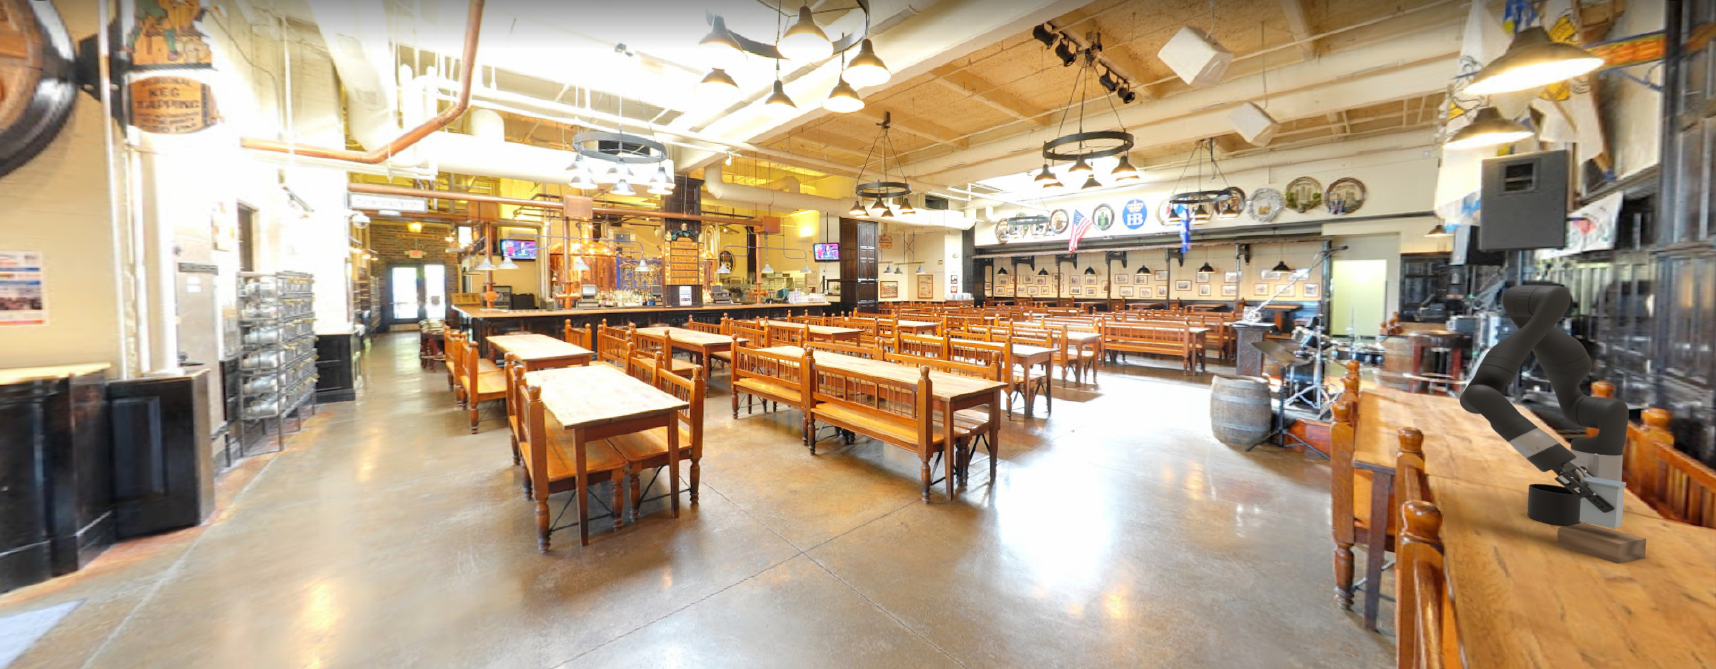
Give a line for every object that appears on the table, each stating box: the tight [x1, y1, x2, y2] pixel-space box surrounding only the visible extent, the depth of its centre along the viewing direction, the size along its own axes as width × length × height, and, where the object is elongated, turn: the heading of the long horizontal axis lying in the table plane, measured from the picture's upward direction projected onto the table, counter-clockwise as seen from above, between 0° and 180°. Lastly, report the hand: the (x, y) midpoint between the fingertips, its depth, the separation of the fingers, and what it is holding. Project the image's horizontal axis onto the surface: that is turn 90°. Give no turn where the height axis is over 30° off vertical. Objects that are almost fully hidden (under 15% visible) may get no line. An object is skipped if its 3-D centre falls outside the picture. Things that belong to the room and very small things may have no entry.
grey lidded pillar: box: [1580, 477, 1627, 530], centre depth 138 cm, size 6×6×11 cm
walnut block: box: [1556, 522, 1647, 564], centre depth 138 cm, size 10×10×5 cm
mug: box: [1527, 483, 1582, 527], centre depth 158 cm, size 9×12×9 cm
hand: (1613, 508), depth 136 cm, fingers closed on grey lidded pillar, 5 cm apart
